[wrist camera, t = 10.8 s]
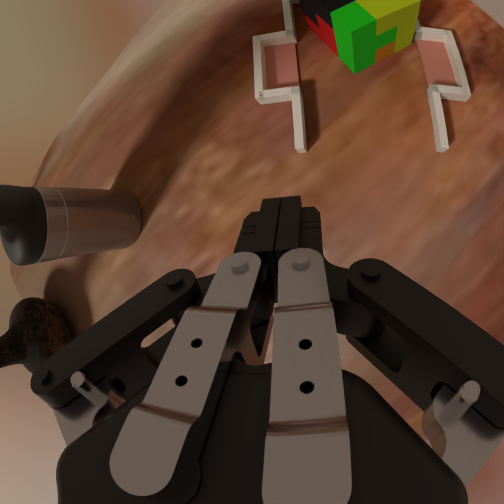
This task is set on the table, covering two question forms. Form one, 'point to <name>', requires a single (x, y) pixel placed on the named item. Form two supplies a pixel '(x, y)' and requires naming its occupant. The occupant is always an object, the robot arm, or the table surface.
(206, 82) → the table surface
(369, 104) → the table surface
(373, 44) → the puzzle toy
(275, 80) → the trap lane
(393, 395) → the table surface
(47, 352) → the glass bottle
